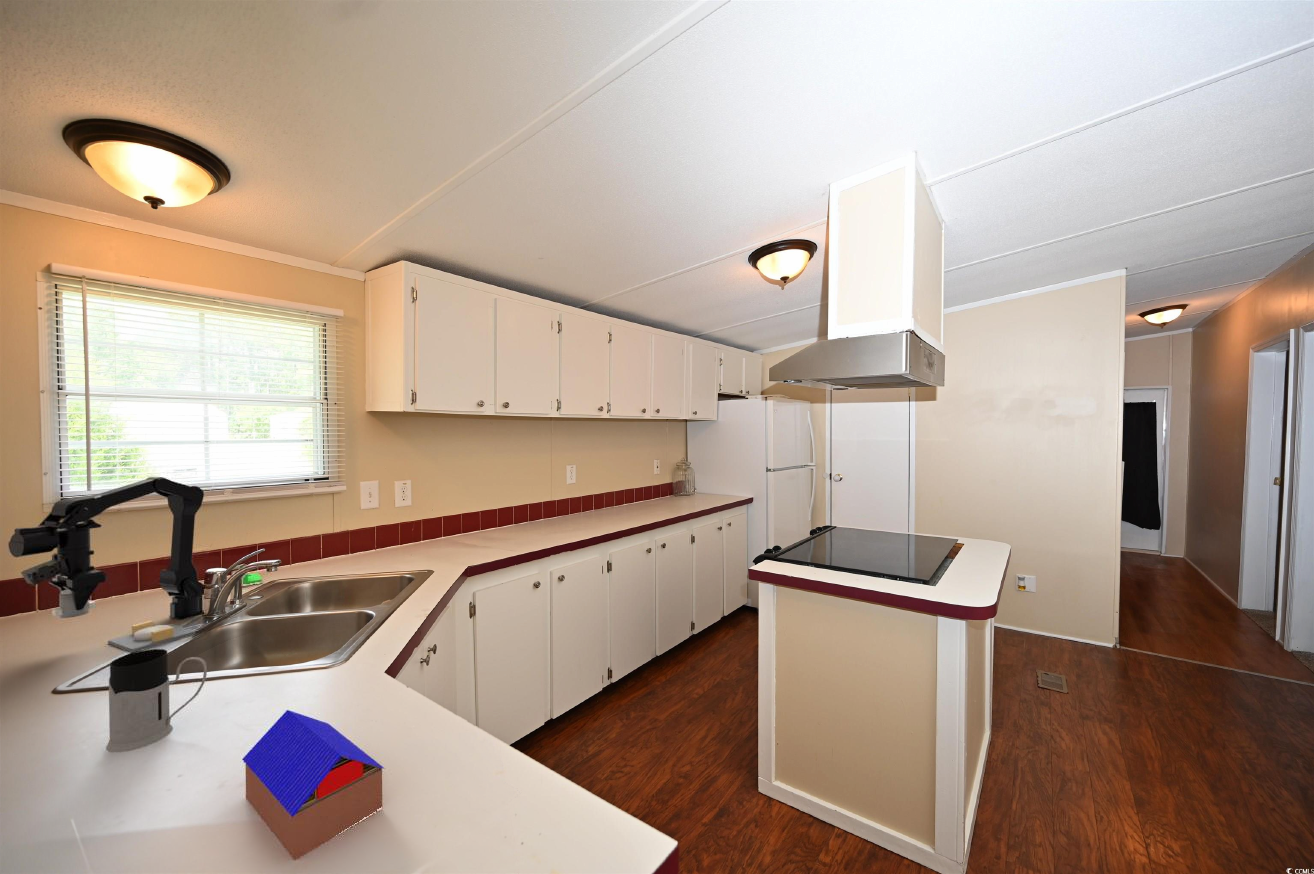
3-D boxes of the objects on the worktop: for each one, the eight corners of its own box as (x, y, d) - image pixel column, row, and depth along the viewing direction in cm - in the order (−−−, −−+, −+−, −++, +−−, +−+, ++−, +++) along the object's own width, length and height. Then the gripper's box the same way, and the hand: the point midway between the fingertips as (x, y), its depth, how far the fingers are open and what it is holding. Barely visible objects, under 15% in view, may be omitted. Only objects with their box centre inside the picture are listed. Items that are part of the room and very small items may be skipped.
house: (328, 761, 89) (327, 694, 89) (385, 812, 77) (385, 735, 77) (242, 801, 80) (241, 726, 79) (293, 867, 68) (292, 779, 68)
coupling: (89, 608, 137) (89, 584, 137) (98, 611, 135) (98, 587, 135) (49, 617, 130) (49, 592, 130) (58, 620, 128) (57, 595, 128)
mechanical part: (261, 584, 189) (261, 563, 189) (240, 588, 185) (240, 566, 184) (257, 577, 197) (257, 557, 197) (237, 581, 193) (237, 559, 193)
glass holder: (123, 730, 98) (122, 651, 97) (216, 715, 103) (215, 640, 103) (93, 757, 90) (92, 672, 89) (196, 739, 95) (195, 658, 95)
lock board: (170, 626, 148) (170, 614, 148) (195, 634, 143) (195, 621, 143) (108, 644, 136) (107, 631, 136) (132, 653, 131) (132, 639, 131)
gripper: (10, 551, 129) (11, 613, 129) (42, 559, 121) (43, 625, 122) (74, 542, 139) (75, 599, 139) (107, 549, 131) (108, 610, 132)
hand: (74, 608), depth 133 cm, fingers closed on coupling, 5 cm apart
